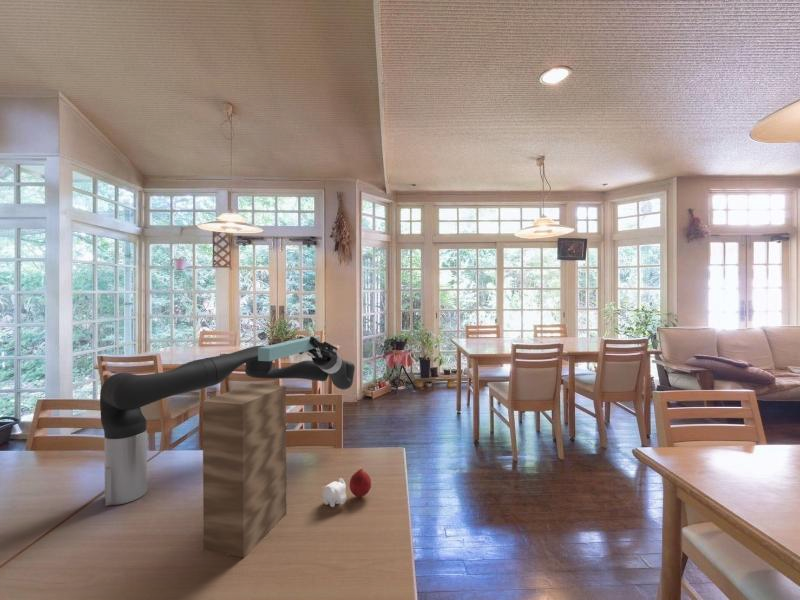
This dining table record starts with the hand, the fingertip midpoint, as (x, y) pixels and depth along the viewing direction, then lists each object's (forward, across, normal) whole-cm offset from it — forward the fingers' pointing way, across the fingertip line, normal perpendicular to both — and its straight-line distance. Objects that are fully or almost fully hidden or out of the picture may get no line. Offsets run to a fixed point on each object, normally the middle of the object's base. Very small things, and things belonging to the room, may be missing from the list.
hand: (305, 339), depth 110 cm
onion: (-15, +20, +40) cm, 47 cm away
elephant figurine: (-11, +15, +42) cm, 46 cm away
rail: (+5, 0, +6) cm, 8 cm away
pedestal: (+2, 0, +49) cm, 49 cm away
